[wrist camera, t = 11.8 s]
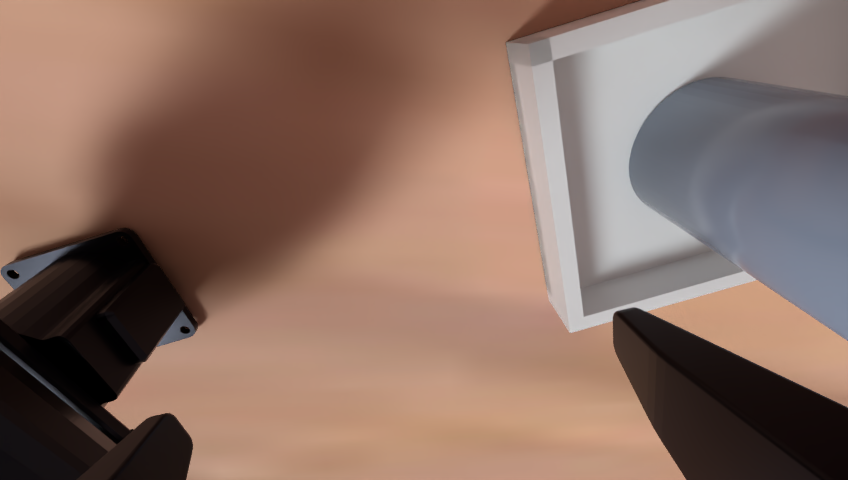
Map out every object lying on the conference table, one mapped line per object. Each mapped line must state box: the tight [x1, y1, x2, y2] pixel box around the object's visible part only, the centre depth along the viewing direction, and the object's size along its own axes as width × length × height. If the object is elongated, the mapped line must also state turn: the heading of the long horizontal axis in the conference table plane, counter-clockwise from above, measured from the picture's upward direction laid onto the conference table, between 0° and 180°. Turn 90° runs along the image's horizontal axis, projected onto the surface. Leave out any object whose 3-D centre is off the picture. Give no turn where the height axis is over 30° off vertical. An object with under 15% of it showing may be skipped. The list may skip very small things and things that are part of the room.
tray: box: [506, 0, 848, 333], centre depth 19 cm, size 16×14×3 cm
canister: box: [629, 77, 848, 341], centre depth 14 cm, size 7×7×13 cm
